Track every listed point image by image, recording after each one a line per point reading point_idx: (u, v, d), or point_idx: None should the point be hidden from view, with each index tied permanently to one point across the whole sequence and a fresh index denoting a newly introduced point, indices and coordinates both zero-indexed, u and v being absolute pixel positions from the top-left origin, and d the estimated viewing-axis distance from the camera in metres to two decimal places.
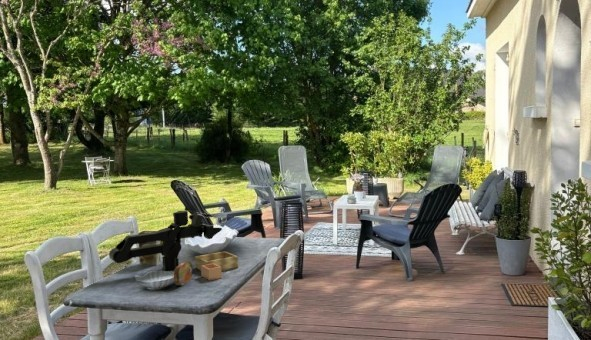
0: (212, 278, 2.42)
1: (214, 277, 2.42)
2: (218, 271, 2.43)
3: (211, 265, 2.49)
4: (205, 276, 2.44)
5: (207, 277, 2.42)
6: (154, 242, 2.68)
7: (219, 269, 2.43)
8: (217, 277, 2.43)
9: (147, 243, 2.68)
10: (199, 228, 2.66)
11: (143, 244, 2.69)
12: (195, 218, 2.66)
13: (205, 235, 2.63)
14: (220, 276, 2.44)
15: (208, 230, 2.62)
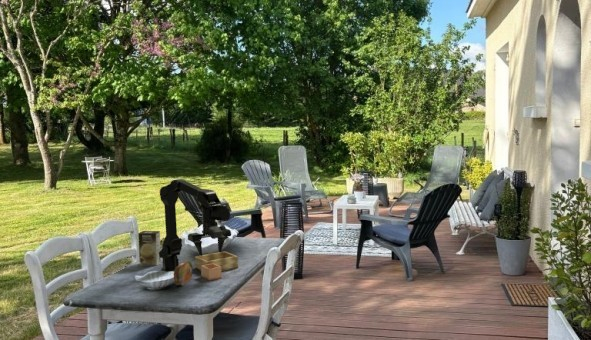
0: (212, 278, 2.42)
1: (214, 277, 2.42)
2: (218, 271, 2.43)
3: (211, 265, 2.49)
4: (205, 276, 2.44)
5: (207, 277, 2.42)
6: (154, 242, 2.68)
7: (219, 269, 2.43)
8: (217, 277, 2.43)
9: (147, 243, 2.68)
10: None
11: (143, 244, 2.69)
12: (213, 229, 2.38)
13: (192, 233, 2.41)
14: (220, 276, 2.44)
15: (191, 236, 2.38)
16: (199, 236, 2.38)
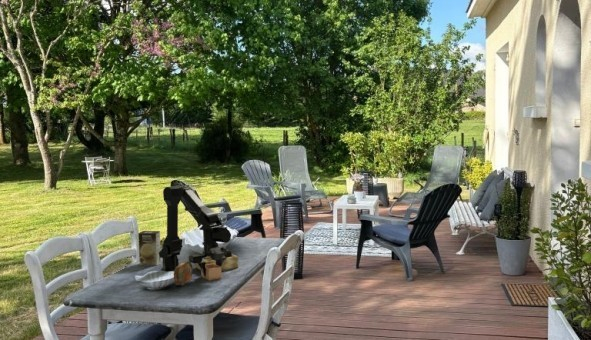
0: (212, 278, 2.42)
1: (214, 277, 2.42)
2: (218, 271, 2.43)
3: (211, 265, 2.49)
4: (205, 276, 2.44)
5: (207, 277, 2.42)
6: (154, 242, 2.68)
7: (219, 269, 2.43)
8: (217, 277, 2.43)
9: (147, 243, 2.68)
10: None
11: (143, 244, 2.69)
12: (214, 251, 2.39)
13: (193, 254, 2.42)
14: (220, 276, 2.44)
15: (192, 258, 2.39)
16: (200, 258, 2.39)
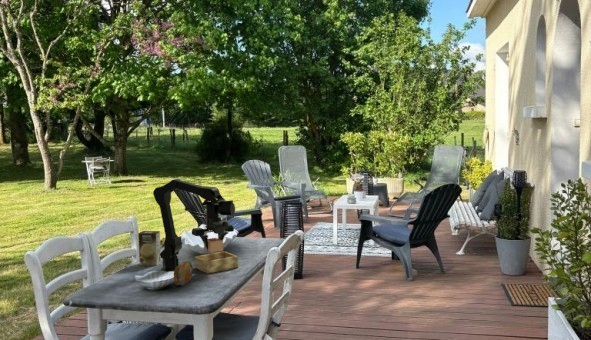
0: (214, 251, 2.50)
1: (216, 250, 2.51)
2: (220, 244, 2.52)
3: (213, 239, 2.58)
4: None
5: (209, 250, 2.51)
6: (154, 242, 2.68)
7: (221, 243, 2.52)
8: (219, 250, 2.52)
9: (147, 243, 2.68)
10: (208, 226, 2.51)
11: (143, 244, 2.69)
12: (216, 224, 2.48)
13: (196, 228, 2.51)
14: (222, 249, 2.52)
15: (194, 231, 2.48)
16: (202, 231, 2.48)
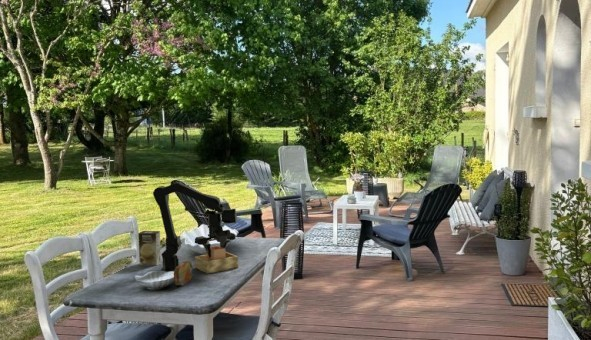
0: (217, 259, 2.57)
1: (219, 258, 2.57)
2: (222, 252, 2.58)
3: (216, 247, 2.65)
4: (210, 257, 2.59)
5: (212, 258, 2.57)
6: (154, 242, 2.68)
7: (223, 250, 2.59)
8: (221, 258, 2.58)
9: (147, 243, 2.68)
10: None
11: (143, 244, 2.69)
12: (218, 233, 2.54)
13: (199, 237, 2.57)
14: (224, 257, 2.59)
15: (198, 240, 2.54)
16: (205, 239, 2.54)
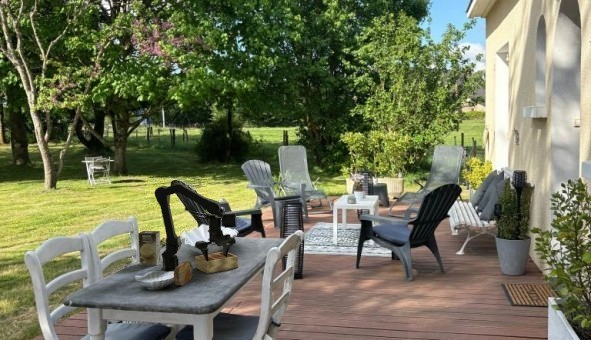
0: None
1: None
2: None
3: (216, 255, 2.65)
4: None
5: None
6: (154, 242, 2.68)
7: None
8: None
9: (147, 243, 2.68)
10: (211, 239, 2.58)
11: (143, 244, 2.69)
12: (219, 238, 2.54)
13: (199, 241, 2.57)
14: None
15: (198, 244, 2.54)
16: (206, 244, 2.54)
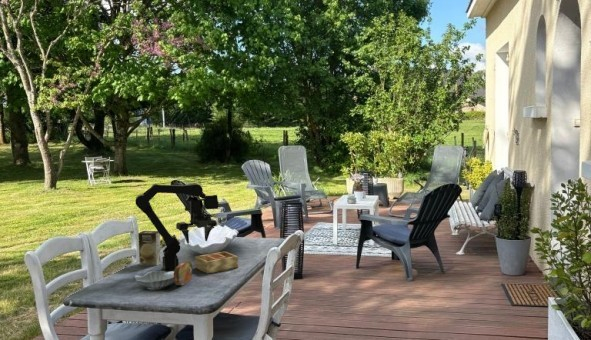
0: None
1: None
2: None
3: (216, 255, 2.65)
4: None
5: None
6: (154, 242, 2.68)
7: None
8: None
9: (147, 243, 2.68)
10: (192, 221, 2.61)
11: (143, 244, 2.69)
12: (199, 219, 2.58)
13: (180, 222, 2.61)
14: None
15: (179, 225, 2.58)
16: (186, 225, 2.58)
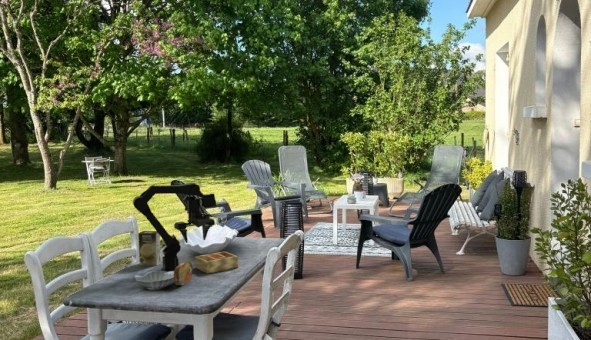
0: None
1: None
2: None
3: (216, 255, 2.65)
4: None
5: None
6: (154, 242, 2.68)
7: None
8: None
9: (147, 243, 2.68)
10: (190, 220, 2.61)
11: (143, 244, 2.69)
12: (197, 218, 2.58)
13: (178, 222, 2.61)
14: None
15: (177, 225, 2.58)
16: (184, 224, 2.58)
